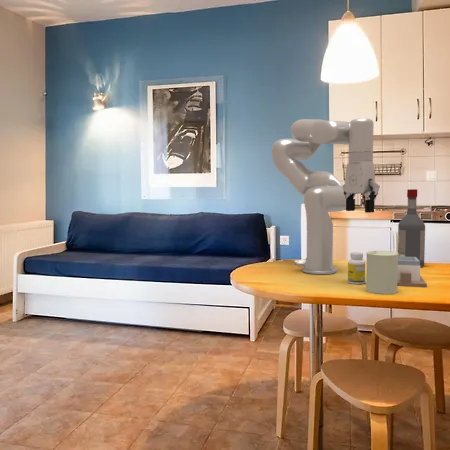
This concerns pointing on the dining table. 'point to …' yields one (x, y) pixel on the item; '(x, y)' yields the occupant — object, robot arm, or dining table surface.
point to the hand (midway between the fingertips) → (359, 211)
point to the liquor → (411, 231)
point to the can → (382, 272)
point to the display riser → (409, 272)
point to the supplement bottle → (356, 268)
